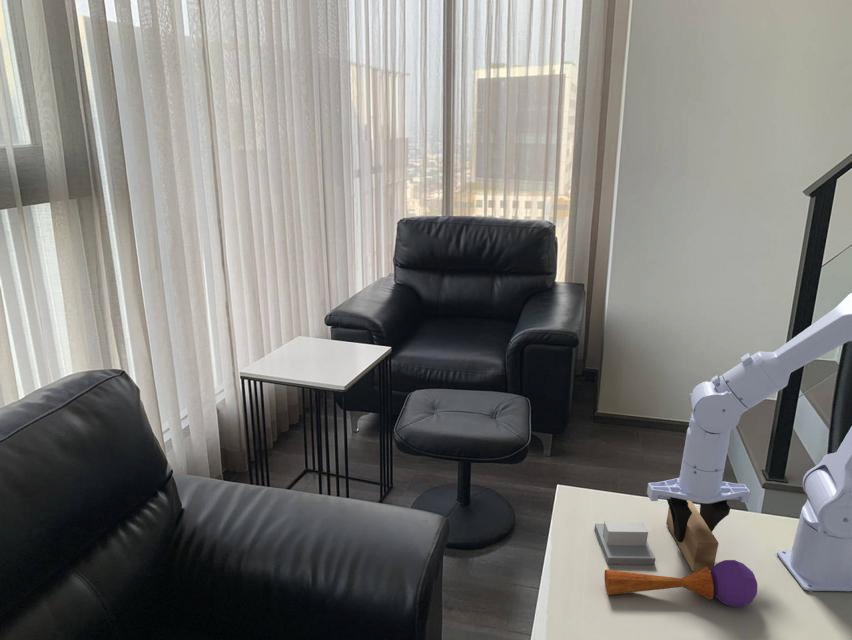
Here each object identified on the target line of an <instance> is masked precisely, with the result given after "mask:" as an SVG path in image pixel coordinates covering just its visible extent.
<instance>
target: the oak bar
mask: <svg viewBox="0 0 852 640" xmlns="http://www.w3.org/2000/svg"><path fill="white" fill-rule="evenodd" d="M687 502H688V507H689V508H690V510H691V511H692V514H691V516H690V518H689V520H688V523H687V526H686V531H685V537H684V540H683V542H678V541H677V539H676V538H675V536H674V529H673V520H672V515H671V511H670V508H669V507H668V509H667V516H666V522H665V524H666V526H667V527H668V529H669V531H670V533H671V536H672V537H673V539H674V540H675V542H676V544H677V545H678V547H679V549H680V551H681V552H682V555H683V556H684V558H685V560H686V562H687V564H688V566H689V567H690V569H691V571H693V572H696V571H698V570H700V569H702V568H704V567H708V568H709V570H710V571H711V569H712V568H713V567H714V566H715V564H716V558H717V553H718V547H719V541H718V539H717V538H716V536H715V535H714V533H713V531H712V532H711V530H710V529H709V527H708V526H707V524H706V523H705V521H704V520H703V518H702V517H701V515H700V511H699V510H698V509H697V507H696V505H695V504H694V503H693V501H688V500H687Z"/></svg>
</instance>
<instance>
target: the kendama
mask: <svg viewBox="0 0 852 640" xmlns="http://www.w3.org/2000/svg"><path fill="white" fill-rule="evenodd" d="M603 575H604V587H605V591H606V594H607V596H611V595H620V594H621V595H622V594H630V593H631V594H632V593H641V592H648V591H657V590H667V589H676V588H685V589H686V590H689V591H691V592H693V593H695V594H698V595H699V596H702V597H704V598H707V600H713V598H714V596H715V598H717V599H718V600H719V601H720V602H721V603H722V604H725V605H726V606H729V607H745V606H746V605H749V604H751V603H752V602H753V600H754V599H755V597H756V596H757V594H758V580H757V579H756V576H755V573H754V572H753V570H751V569H750V568H749V567H748V566H747V565H746V564H744V563H743V562H740V561H738V560H736V559H725V560H722V561H719V562H718V563H715V564H714V567H713V568H712V569H711V571H710V570H709V568H708V567H704V568H702V569H700V570H698V571H693V572H692V573H690V574H688V575H686V576H684V577H674V576H673V577H671V576H663V575H654V574H647V573H645V574H644V573H639V572H629V571H621V570H612V569H605V570H604V574H603Z"/></svg>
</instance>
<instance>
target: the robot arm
mask: <svg viewBox="0 0 852 640" xmlns="http://www.w3.org/2000/svg"><path fill="white" fill-rule="evenodd" d="M848 342H852V292H851V293H849V294H848V295H847V296H846V297H845V298H844V299H843V300H841V302H839V304H838V305H837V306H835V307H834V308H832V310H830V311H829V312H828V313H826V314H825V315H823V316H822V317H820V318H819V319H818V320H816V321H815V322H814V323H812V324H811V325H809V326H808V327H807V328H805V329H804V330H803V331H801V332H800V333H798V334H797V335H795V336H794V337H793V338H791V339H790V340H789V341H787V342H786V343H784V344H783V345H781V347H779V348H777V349H776V350H775V351H762V350H760V351H757V352H755V353H754V354H752V355H750V353H746V354H744V355H743V356H741V357H740V361H741V362H740V363H738V364H737V365H735V366H733V367H732V368H731V369H729V370H728V371H726V372H724V373H723V374H721V375H720V376H718V375H715V376H713V377H712V378H711V379H710V381H708V380H707V381H703V382H701V383H699V384H697V385H696V386H695V387H694V388H693V389H692V392H690V393H689V394H688V401H689V405H690V406H691V409H692V412H691V414H690V419H689V421H688V428H687V429H686V436H685V443H684V447H683V453H682V460H681V467H680V473H679V477H676V478H672V479H667V480H663V481H657V482H648V483H647V490H646V495H647V496H648V498H649V500H650V501H651V502H658V500H659V499H660V500H663V499H665V500H666V501H667V504H668V509H669V508H670V511H671V515H672V520H673V529H674V536H675V538H676V539H677V541H678V542H683V540H684V537H685V531H686V526H687V523H688V520H689V518H690V516H691V514H692V511H691V510H690V508H689V507H688V502H687V500H688V501H692V503H693V502H694V503H699V506H700V507H699V513H700V515H701V517H702V518H703V520H704V521H705V523H706V524H707V526H708V527H709V529H710V530H711V532H712V533H713V531H714V529H715V528H716V527H717V526H718V525H719V523H720V522H722V520H723V519H725V518H726V517H728V516H729V514H730V511H731V506H730V505H729V504H728V503H727V502H728V500H730V501H731V500H736V501H737V500H738V501H740V502H741V503H749V501H750V496H751V491H750V489H749V488H748V487H747V485H746V484H744V483H734V482H729V481H723V477H724V474H725V473H724V472H725V468H726V461H727V456H728V451H729V445H730V442H731V441H730V440H731V439H730V438H731V437H730V436H731V430H733V429H735V428H736V427H737V426H738V424H739V422H740V420H741V417H742V414H744V413H746V411H748V410H750V409H752V408H754V407H755V406H756V405H758V404H760V403H761V402H763V401H764V400H766V399H768V398H769V397H771V396H773V395H774V394H776V393H778V392H781V390H783V389H785V388H786V387H787V386H788V384H789V380H790V377H791V376H790V375H791V373H793V372H795V371H796V370H799V369H801V368H802V367H804V366H805V365H807V364H809V363H811V362H813V361H815V360H817V359H820V357H822V356H825V355H826V354H828V353H830V352H832V351H833V350H835V349H837V348H839V347H841V346H843V345H844V344H846V343H848ZM801 484H802V489H803V491H804V492H805V495H807V499H806V502H805V504H803V506H802V508H801V511H800V515H799V519H798V523H797V527H796V531H795V535H794V538H793V539H794V540H793V544H792V548H791V550H777V551H776V555H777V557H779V559H780V560H781V561H782V563H783V564H784V566H785V567H786V568H787V570H789V572H790V574H791V575H792V576H793V577H794V579H795V580H796V581H797V582H798V584H799V585H800V586H801V588H802V589H803V590H805V591H821V592H822V591H823V592H824V591H826V592H827V591H828V592H829V591H830V592H852V425H851V427H850V428H849V429H848V432H847V433H846V435H845V437H844V438H843V441H842V442H841V443H840V445H839V447H838V449H837V450H836V451H835V452H833V453H828V454H825V455H823V457H822V459H821V461H820V462H819V463H818V464H817V465H815V466H814V467H811V468H810V469H809V470H807V471H806V473H805V474H804V476H803V478H802V483H801ZM675 538H674V539H675Z"/></svg>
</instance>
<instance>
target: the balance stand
mask: <svg viewBox="0 0 852 640" xmlns="http://www.w3.org/2000/svg"><path fill="white" fill-rule="evenodd" d="M593 530H594V532H595V535H596V538H597V541H598V543H599V546H600V548H601V551H602V553H603V556H604V559H605V562H606V564H607V565H626V566H627V565H629V566H631V565H632V566H633V565H636V566H638V565H639V566H640V565H641V566H655V564H656V557H655V555H654V553H653V551H652V548H651V546H650V545H649V543H648V537H649V531H648V529H647V527H646V525H645V523H644V522H643V521H604V522H603V523H595V524H594V529H593Z"/></svg>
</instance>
